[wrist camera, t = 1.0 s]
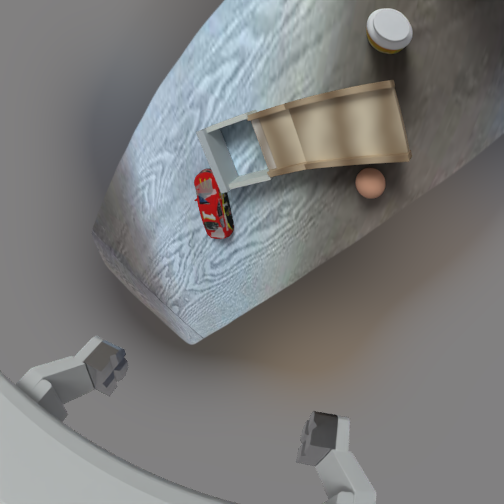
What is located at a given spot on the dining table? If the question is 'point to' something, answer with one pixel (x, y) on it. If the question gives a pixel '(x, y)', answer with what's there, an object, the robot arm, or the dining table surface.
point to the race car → (213, 206)
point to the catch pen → (226, 157)
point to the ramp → (333, 130)
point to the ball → (370, 183)
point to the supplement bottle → (388, 31)
